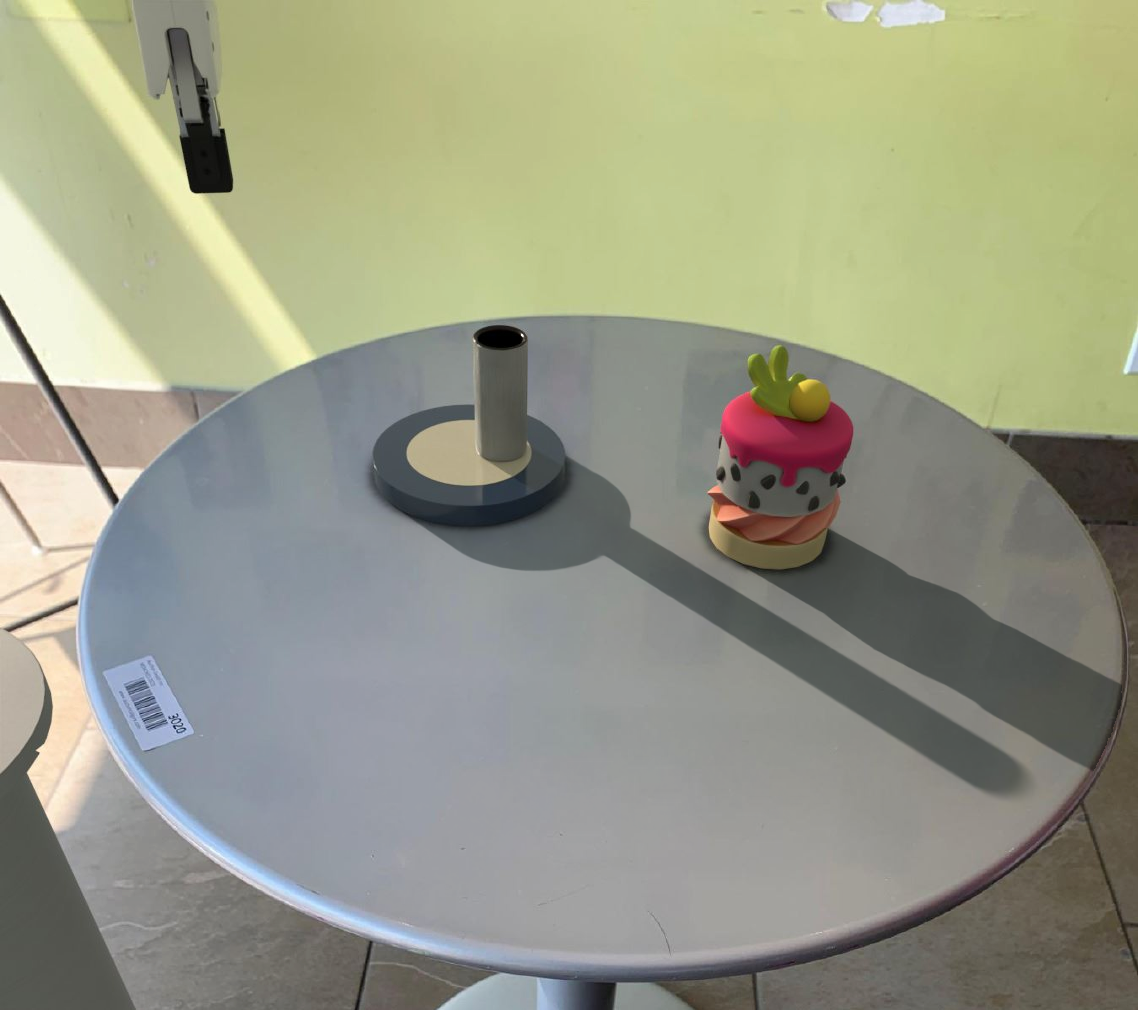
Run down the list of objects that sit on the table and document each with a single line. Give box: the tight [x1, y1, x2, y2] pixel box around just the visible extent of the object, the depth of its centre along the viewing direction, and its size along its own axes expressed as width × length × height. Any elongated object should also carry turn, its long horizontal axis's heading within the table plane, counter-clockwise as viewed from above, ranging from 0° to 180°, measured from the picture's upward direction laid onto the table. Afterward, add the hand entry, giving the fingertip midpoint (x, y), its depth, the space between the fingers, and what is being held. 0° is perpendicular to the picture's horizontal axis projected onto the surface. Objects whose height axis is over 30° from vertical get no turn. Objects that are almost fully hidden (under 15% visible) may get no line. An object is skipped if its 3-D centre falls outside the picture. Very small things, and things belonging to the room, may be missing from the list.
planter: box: [472, 324, 529, 462], centre depth 95 cm, size 4×4×10 cm
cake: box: [706, 344, 854, 570], centre depth 89 cm, size 10×11×15 cm
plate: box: [371, 403, 566, 527], centre depth 99 cm, size 17×17×2 cm
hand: (212, 188), depth 85 cm, fingers closed
